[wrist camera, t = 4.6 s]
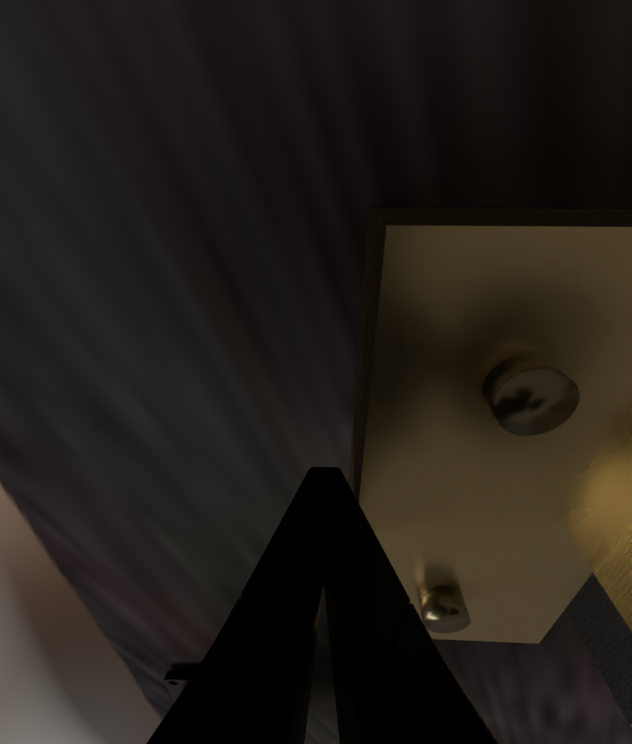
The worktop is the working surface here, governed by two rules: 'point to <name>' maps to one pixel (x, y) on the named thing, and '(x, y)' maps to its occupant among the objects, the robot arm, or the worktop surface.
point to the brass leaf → (497, 412)
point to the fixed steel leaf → (605, 640)
